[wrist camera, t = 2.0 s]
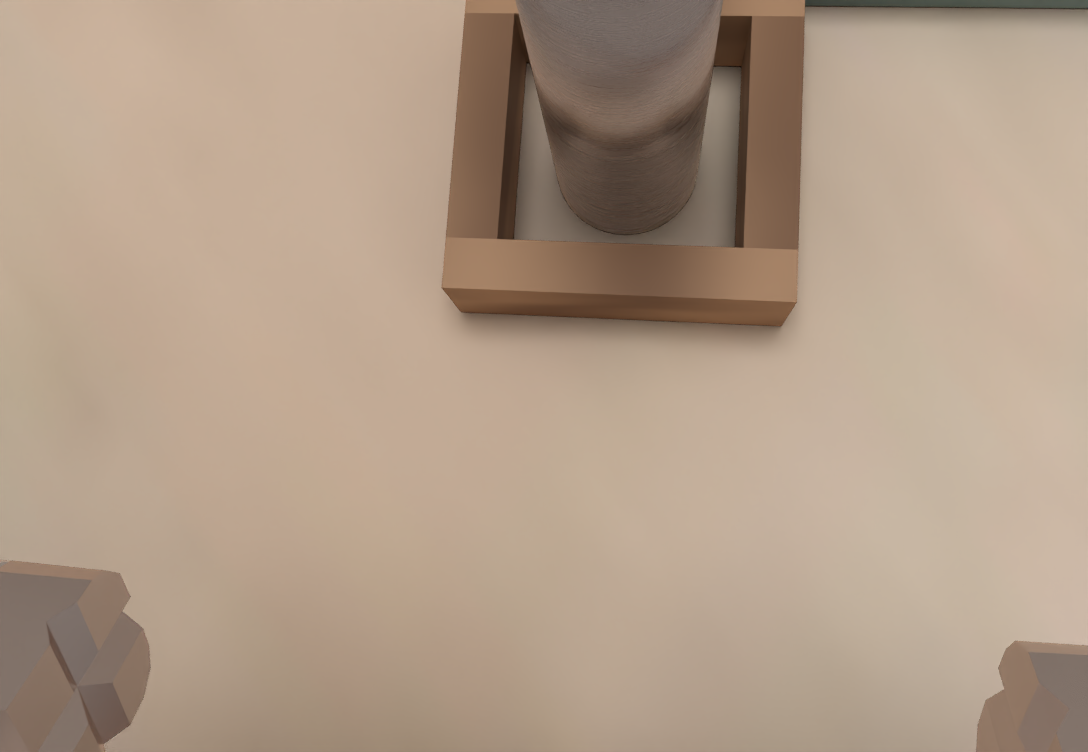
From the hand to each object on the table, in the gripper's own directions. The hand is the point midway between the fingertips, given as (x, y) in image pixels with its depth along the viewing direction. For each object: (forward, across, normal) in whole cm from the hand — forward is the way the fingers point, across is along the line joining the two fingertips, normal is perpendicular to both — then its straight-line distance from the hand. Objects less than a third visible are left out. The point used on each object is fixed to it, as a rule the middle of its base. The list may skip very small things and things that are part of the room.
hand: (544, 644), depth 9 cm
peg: (+18, 0, +3) cm, 18 cm away
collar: (+18, 0, +3) cm, 18 cm away
